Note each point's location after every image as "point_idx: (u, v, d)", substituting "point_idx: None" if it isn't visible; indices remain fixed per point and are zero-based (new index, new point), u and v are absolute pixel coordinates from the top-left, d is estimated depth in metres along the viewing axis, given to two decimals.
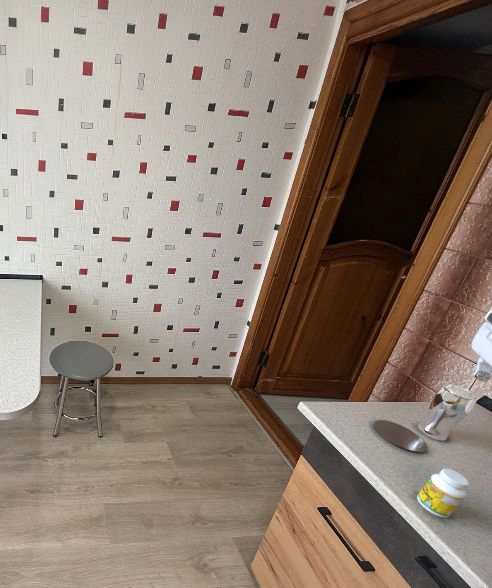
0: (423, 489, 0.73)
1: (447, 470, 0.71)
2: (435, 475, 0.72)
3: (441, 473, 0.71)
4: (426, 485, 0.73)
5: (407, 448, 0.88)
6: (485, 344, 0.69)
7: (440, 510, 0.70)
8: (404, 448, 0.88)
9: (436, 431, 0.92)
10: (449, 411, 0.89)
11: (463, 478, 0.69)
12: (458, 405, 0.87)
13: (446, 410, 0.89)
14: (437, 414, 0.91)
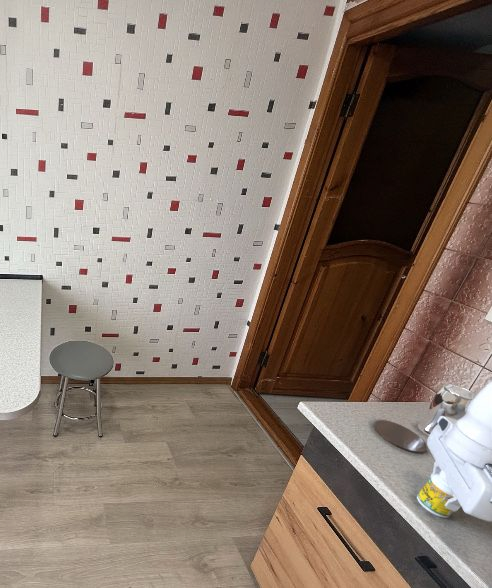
0: (423, 489, 0.73)
1: None
2: (435, 475, 0.72)
3: (441, 473, 0.71)
4: (426, 485, 0.73)
5: (407, 448, 0.88)
6: (437, 446, 0.74)
7: (440, 510, 0.70)
8: (404, 448, 0.88)
9: None
10: (449, 411, 0.89)
11: None
12: (458, 405, 0.87)
13: (446, 410, 0.89)
14: (438, 414, 0.91)
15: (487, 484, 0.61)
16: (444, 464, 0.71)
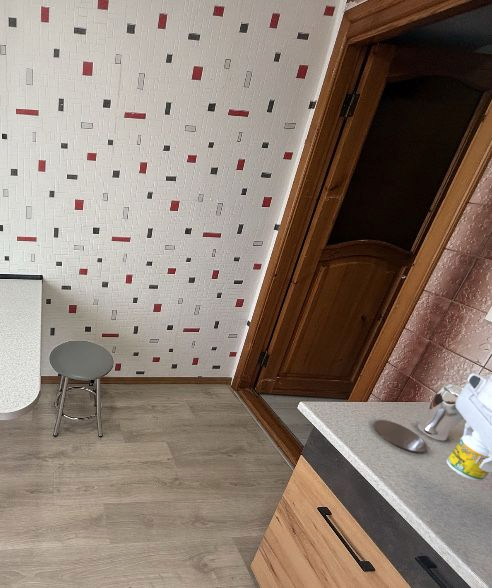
0: (454, 452, 0.69)
1: None
2: (467, 436, 0.67)
3: (474, 433, 0.66)
4: (457, 447, 0.68)
5: (407, 448, 0.88)
6: (468, 406, 0.69)
7: (473, 473, 0.66)
8: (404, 448, 0.88)
9: (436, 431, 0.92)
10: (449, 411, 0.89)
11: None
12: None
13: (446, 410, 0.89)
14: (438, 414, 0.91)
15: None
16: (477, 423, 0.66)
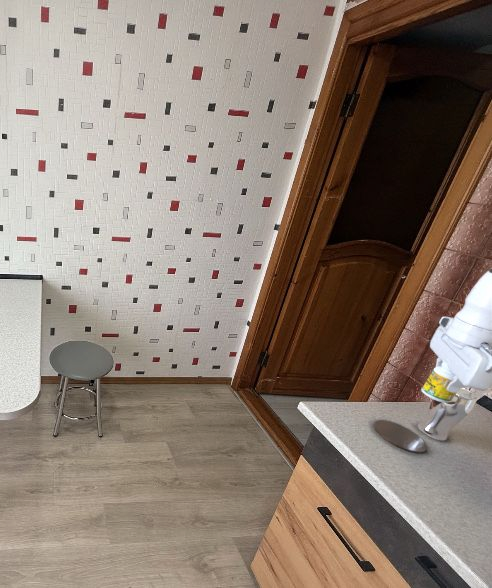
0: (427, 381, 0.83)
1: None
2: (437, 367, 0.82)
3: (443, 363, 0.80)
4: (429, 377, 0.82)
5: (407, 448, 0.88)
6: (439, 344, 0.84)
7: (442, 395, 0.80)
8: (404, 448, 0.88)
9: (436, 431, 0.92)
10: (449, 411, 0.89)
11: None
12: (458, 405, 0.87)
13: (446, 410, 0.89)
14: (438, 414, 0.91)
15: (483, 356, 0.70)
16: (445, 355, 0.80)
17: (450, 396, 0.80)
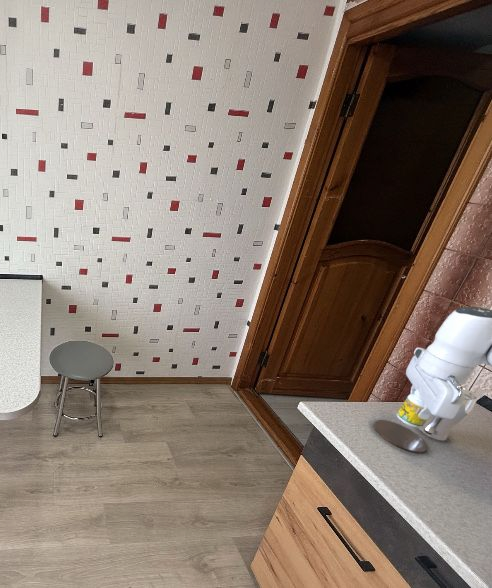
0: (401, 407, 0.90)
1: None
2: (411, 394, 0.88)
3: (415, 391, 0.87)
4: (404, 403, 0.89)
5: (407, 448, 0.88)
6: (414, 372, 0.91)
7: (414, 421, 0.87)
8: (404, 448, 0.88)
9: (436, 431, 0.92)
10: None
11: None
12: None
13: None
14: None
15: (449, 389, 0.77)
16: (418, 384, 0.87)
17: (422, 422, 0.86)
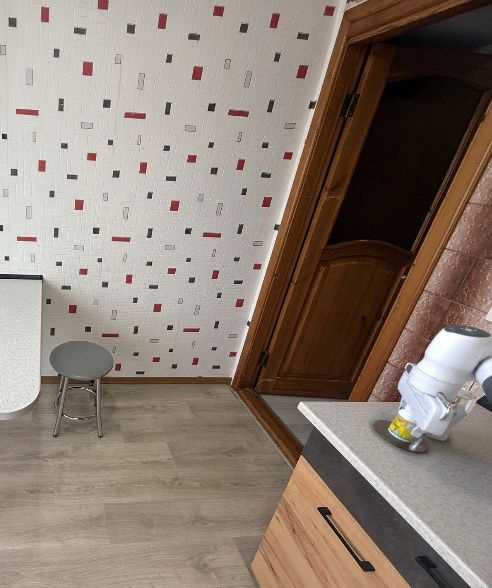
0: (392, 421, 0.92)
1: None
2: (401, 409, 0.91)
3: (406, 406, 0.89)
4: (395, 418, 0.91)
5: (407, 448, 0.88)
6: (405, 387, 0.93)
7: (405, 436, 0.89)
8: (404, 448, 0.88)
9: None
10: None
11: None
12: (458, 405, 0.87)
13: None
14: None
15: (437, 406, 0.79)
16: (409, 399, 0.89)
17: (412, 436, 0.89)
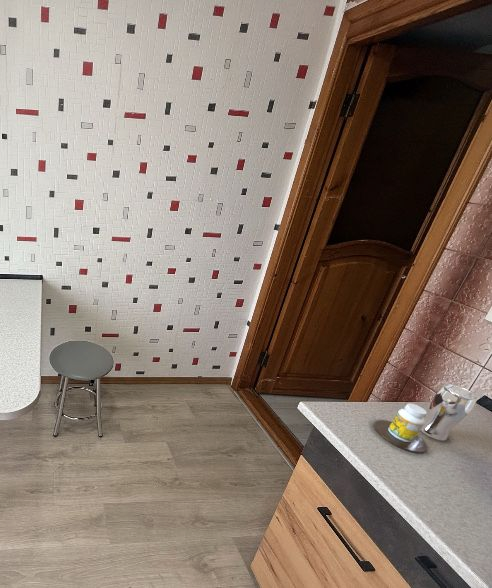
0: (392, 421, 0.92)
1: (410, 404, 0.89)
2: (401, 409, 0.91)
3: (406, 406, 0.89)
4: (395, 418, 0.91)
5: (407, 448, 0.88)
6: None
7: (405, 436, 0.89)
8: (404, 448, 0.88)
9: (436, 431, 0.92)
10: (449, 411, 0.89)
11: (422, 409, 0.88)
12: (458, 405, 0.87)
13: (446, 410, 0.89)
14: (438, 414, 0.91)
15: None
16: None
17: (412, 436, 0.89)
